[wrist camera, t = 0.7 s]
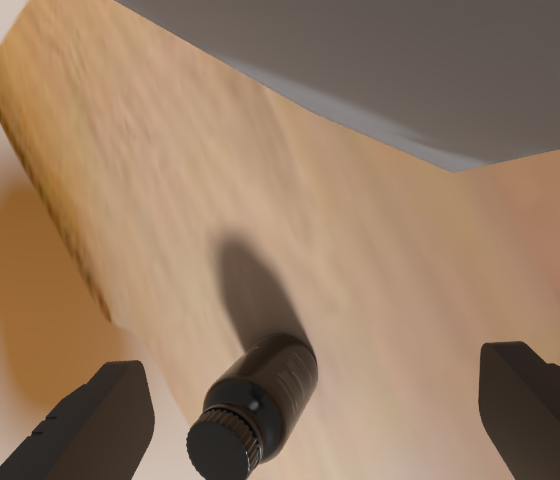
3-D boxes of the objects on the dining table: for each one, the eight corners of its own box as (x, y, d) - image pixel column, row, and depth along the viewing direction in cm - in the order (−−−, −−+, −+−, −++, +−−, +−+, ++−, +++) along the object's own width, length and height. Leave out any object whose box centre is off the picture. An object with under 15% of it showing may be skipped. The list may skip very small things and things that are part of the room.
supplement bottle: (252, 325, 35) (172, 391, 24) (322, 339, 33) (268, 420, 22) (250, 391, 37) (172, 483, 26) (317, 409, 34) (264, 520, 23)
